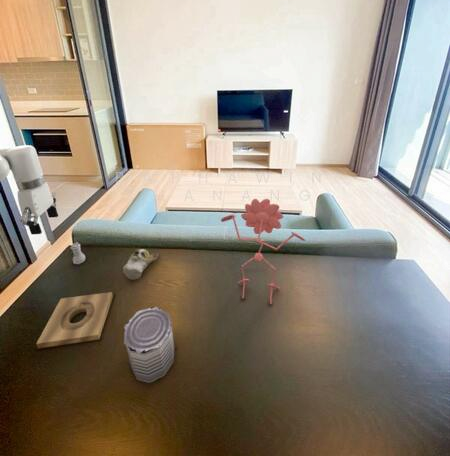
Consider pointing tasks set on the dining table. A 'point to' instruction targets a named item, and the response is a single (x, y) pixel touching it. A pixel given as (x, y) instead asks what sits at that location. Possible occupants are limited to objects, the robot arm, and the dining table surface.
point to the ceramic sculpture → (138, 263)
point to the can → (149, 343)
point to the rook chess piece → (77, 254)
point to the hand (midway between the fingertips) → (45, 224)
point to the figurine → (261, 229)
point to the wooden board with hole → (81, 331)
